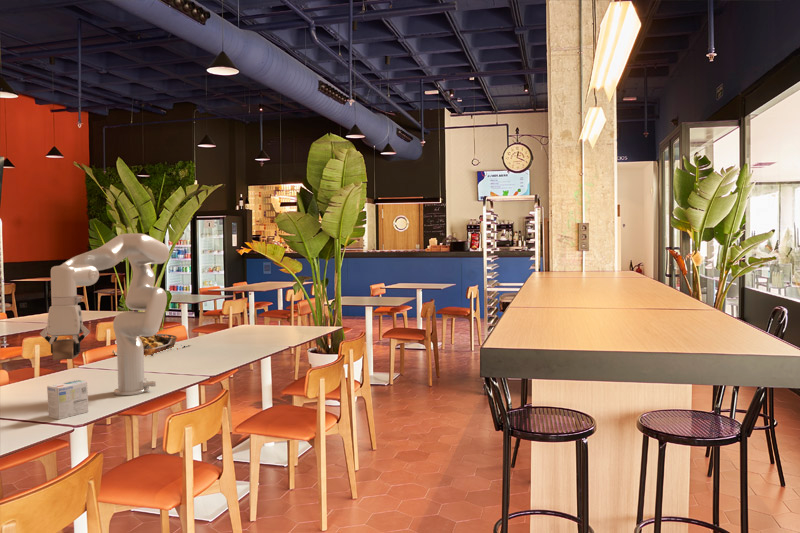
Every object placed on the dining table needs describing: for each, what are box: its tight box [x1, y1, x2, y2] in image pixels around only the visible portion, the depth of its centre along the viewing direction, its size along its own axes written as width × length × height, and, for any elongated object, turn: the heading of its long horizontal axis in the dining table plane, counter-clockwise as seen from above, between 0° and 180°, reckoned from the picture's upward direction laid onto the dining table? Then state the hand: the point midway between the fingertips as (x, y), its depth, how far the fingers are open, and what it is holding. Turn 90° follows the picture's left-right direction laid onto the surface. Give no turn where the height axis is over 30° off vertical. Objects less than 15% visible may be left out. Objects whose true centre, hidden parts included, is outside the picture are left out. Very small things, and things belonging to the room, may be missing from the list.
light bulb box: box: [46, 379, 89, 420], centre depth 207 cm, size 11×7×11 cm, turn 149°
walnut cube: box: [52, 338, 79, 361], centre depth 206 cm, size 6×6×6 cm
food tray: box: [112, 333, 179, 357], centre depth 335 cm, size 35×26×11 cm
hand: (65, 354), depth 206 cm, fingers closed on walnut cube, 6 cm apart
